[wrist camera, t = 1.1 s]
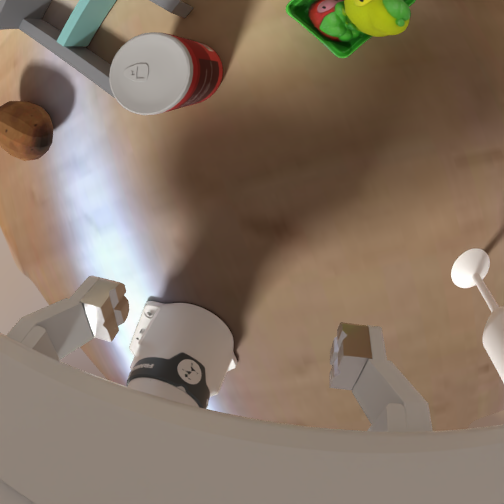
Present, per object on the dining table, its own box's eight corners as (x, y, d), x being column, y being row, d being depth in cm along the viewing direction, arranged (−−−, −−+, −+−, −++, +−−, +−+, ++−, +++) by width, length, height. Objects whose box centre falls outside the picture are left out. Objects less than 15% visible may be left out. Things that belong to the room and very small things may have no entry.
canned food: (155, 51, 31) (102, 48, 22) (219, 35, 29) (183, 20, 20) (165, 110, 35) (116, 124, 26) (229, 97, 33) (197, 105, 24)
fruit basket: (355, -39, 22) (370, -80, 13) (414, 15, 24) (453, -6, 15) (285, 18, 28) (274, -8, 18) (345, 73, 30) (361, 69, 20)
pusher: (87, 46, 31) (63, 46, 27) (80, 41, 31) (56, 41, 26) (124, -12, 27) (102, -19, 22) (117, -16, 26) (94, -23, 22)
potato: (64, 162, 41) (29, 181, 34) (13, 131, 39) (-22, 145, 32) (76, 117, 37) (37, 129, 30) (21, 89, 35) (-16, 99, 28)
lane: (131, 94, 34) (88, 103, 27) (32, 24, 29) (-12, 26, 22) (193, 7, 28) (159, -9, 20) (75, -49, 23) (34, -60, 15)
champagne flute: (495, 251, 36) (577, 379, 15) (479, 289, 39) (540, 421, 19) (460, 245, 37) (539, 386, 16) (444, 286, 40) (499, 430, 20)
